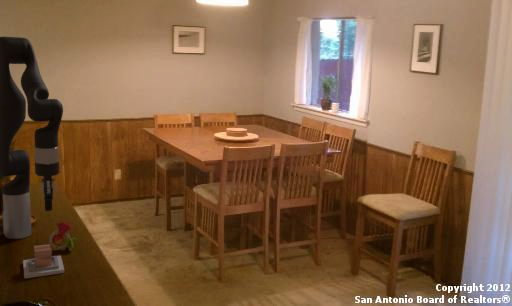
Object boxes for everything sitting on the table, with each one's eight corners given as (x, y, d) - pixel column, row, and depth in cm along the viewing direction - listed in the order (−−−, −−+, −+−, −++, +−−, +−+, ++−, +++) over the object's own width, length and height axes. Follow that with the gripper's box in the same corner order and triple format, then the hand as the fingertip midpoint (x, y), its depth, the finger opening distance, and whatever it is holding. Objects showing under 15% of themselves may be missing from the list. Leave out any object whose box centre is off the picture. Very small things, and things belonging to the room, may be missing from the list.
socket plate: (23, 263, 173) (22, 258, 172) (60, 258, 178) (60, 253, 178) (24, 278, 162) (24, 272, 162) (64, 272, 167) (64, 267, 167)
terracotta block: (34, 262, 171) (33, 246, 170) (50, 260, 173) (50, 244, 172) (35, 268, 167) (34, 251, 165) (52, 266, 169) (51, 249, 168)
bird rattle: (56, 259, 182) (80, 247, 184) (41, 233, 179) (66, 221, 181) (57, 252, 188) (80, 241, 190) (42, 227, 184) (67, 216, 186)
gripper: (33, 155, 171) (35, 204, 175) (35, 165, 160) (37, 217, 163) (57, 154, 174) (59, 203, 178) (60, 164, 163) (62, 215, 166)
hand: (48, 210), depth 171 cm, fingers closed
